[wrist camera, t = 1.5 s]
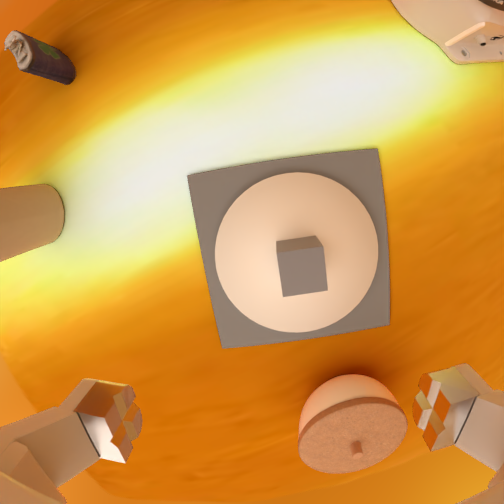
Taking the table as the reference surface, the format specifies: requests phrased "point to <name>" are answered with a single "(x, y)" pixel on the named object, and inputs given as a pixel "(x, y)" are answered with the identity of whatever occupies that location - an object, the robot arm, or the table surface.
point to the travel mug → (29, 218)
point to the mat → (245, 176)
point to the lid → (296, 252)
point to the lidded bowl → (349, 425)
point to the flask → (40, 58)
